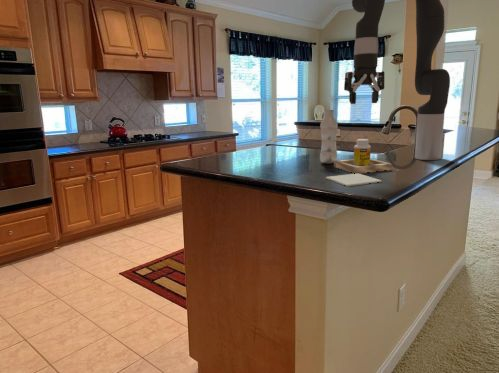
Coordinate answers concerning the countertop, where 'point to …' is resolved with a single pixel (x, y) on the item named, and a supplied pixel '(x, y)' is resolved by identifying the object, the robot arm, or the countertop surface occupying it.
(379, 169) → the beech cradle
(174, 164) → the countertop surface
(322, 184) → the countertop surface
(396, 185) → the countertop surface
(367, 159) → the supplement bottle
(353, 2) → the robot arm
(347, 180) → the white square pad
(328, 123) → the plastic bottle
